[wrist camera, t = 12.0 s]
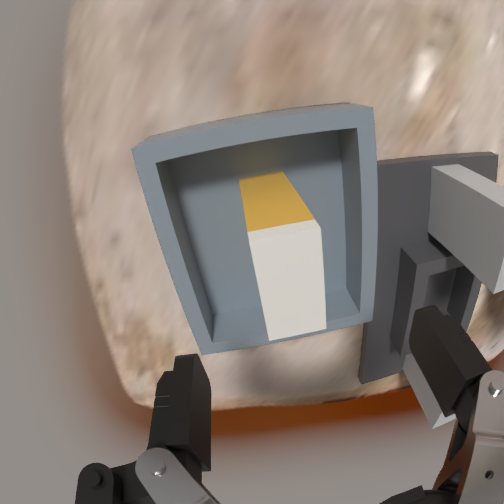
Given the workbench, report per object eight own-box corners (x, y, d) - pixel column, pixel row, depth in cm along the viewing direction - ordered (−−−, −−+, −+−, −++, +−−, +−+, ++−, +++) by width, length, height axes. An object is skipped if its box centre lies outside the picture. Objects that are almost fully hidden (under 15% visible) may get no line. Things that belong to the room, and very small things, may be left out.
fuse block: (490, 151, 19) (572, 192, 11) (451, 345, 30) (487, 403, 22) (365, 162, 19) (448, 217, 11) (358, 377, 30) (385, 448, 22)
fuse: (282, 170, 18) (320, 228, 11) (292, 244, 21) (326, 328, 14) (238, 179, 18) (248, 241, 11) (253, 252, 21) (269, 341, 14)
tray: (346, 102, 17) (372, 107, 14) (354, 289, 24) (372, 320, 21) (148, 137, 17) (131, 148, 14) (203, 319, 24) (201, 355, 21)
